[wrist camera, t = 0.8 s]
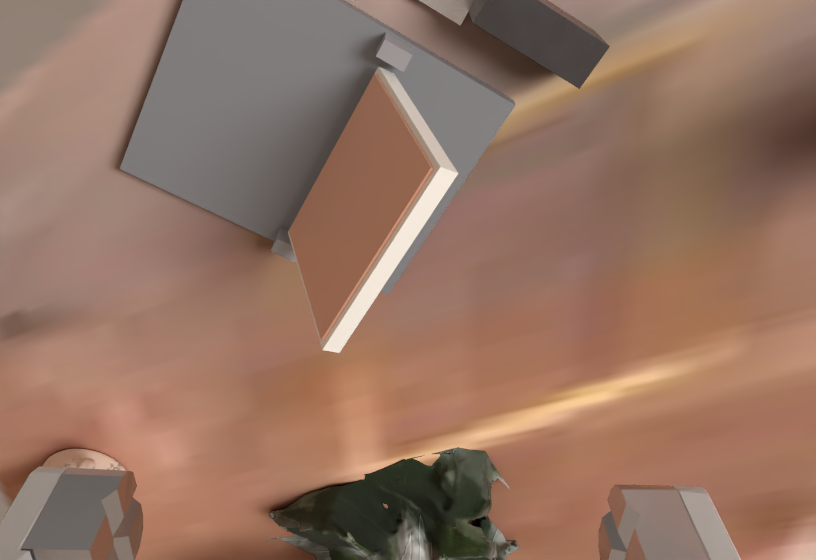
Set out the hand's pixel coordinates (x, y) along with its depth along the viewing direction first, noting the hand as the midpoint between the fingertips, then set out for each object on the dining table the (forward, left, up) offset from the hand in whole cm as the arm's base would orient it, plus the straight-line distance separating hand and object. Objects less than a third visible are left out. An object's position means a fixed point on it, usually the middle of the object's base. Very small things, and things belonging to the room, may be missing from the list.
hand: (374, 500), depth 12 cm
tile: (+10, +4, -32) cm, 33 cm away
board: (+10, -1, -39) cm, 40 cm away
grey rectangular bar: (-4, +4, -39) cm, 40 cm away
